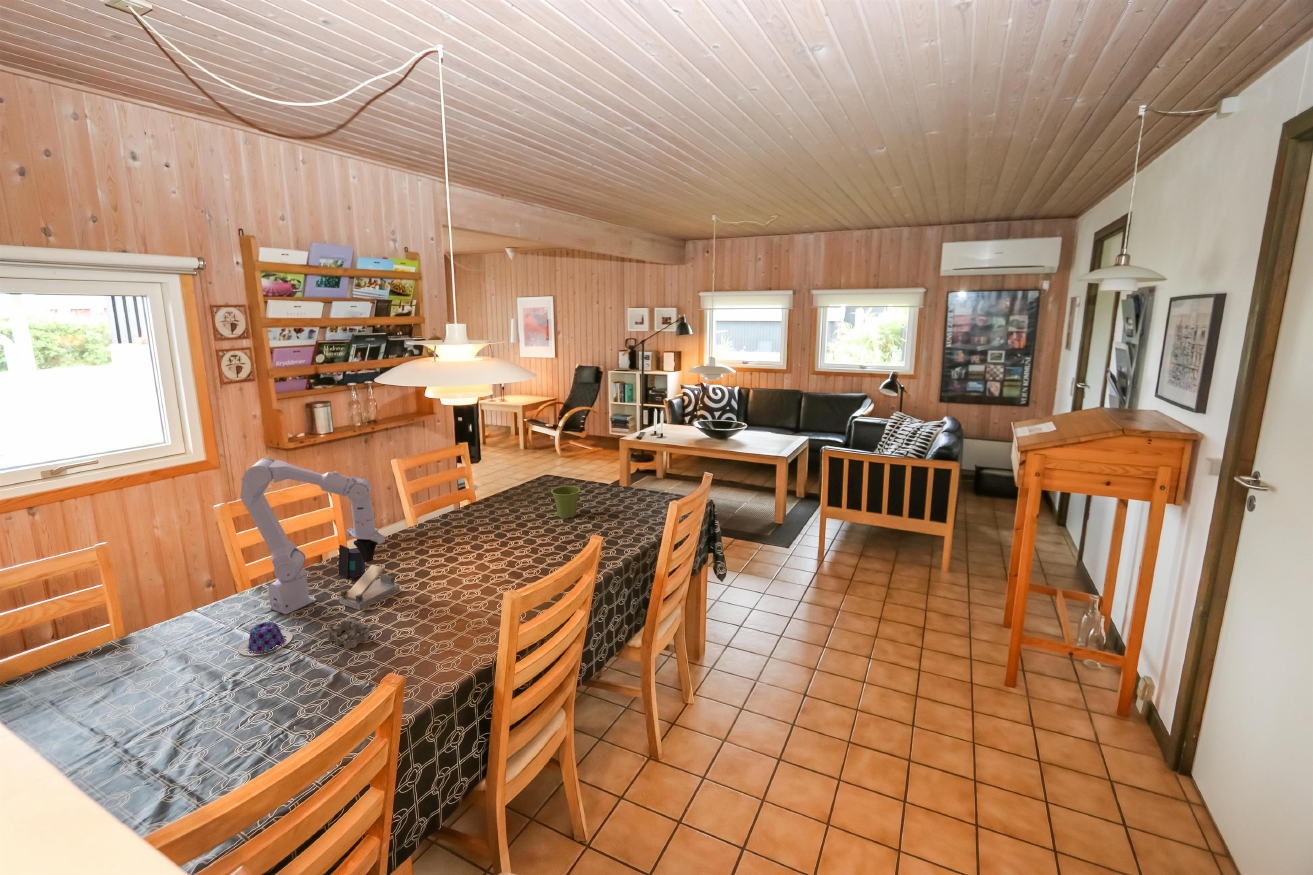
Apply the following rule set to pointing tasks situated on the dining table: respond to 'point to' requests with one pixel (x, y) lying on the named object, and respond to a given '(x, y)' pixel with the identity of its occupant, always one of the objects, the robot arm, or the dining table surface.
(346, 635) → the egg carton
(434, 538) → the dining table surface
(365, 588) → the latch bar
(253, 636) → the purple beige domed disc
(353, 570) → the speaker
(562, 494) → the plant pot
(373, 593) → the block
